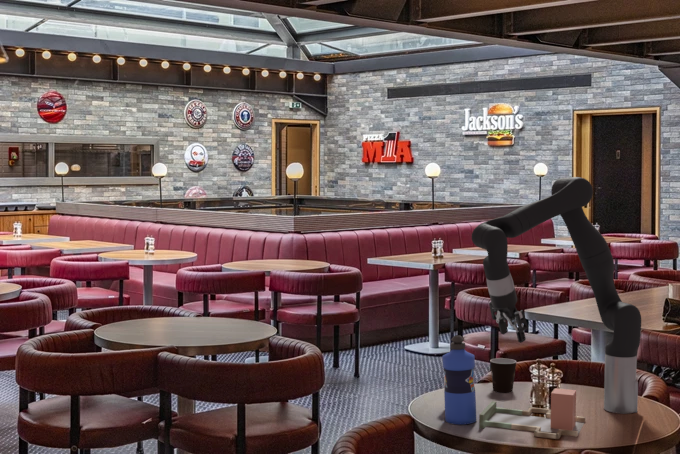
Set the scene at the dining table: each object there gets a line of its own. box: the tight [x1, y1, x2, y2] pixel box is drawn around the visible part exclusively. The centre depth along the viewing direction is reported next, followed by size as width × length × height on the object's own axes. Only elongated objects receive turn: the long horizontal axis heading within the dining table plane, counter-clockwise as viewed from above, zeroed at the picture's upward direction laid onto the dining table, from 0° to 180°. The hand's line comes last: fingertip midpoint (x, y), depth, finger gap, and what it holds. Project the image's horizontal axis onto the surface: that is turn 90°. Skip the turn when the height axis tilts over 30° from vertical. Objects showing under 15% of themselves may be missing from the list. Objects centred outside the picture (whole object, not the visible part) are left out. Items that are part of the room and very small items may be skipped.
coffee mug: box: [489, 357, 517, 394], centre depth 295 cm, size 12×9×10 cm
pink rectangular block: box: [550, 387, 577, 430], centre depth 249 cm, size 6×6×10 cm
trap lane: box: [478, 400, 586, 440], centre depth 253 cm, size 27×25×4 cm
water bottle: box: [441, 334, 477, 425], centre depth 258 cm, size 9×9×25 cm
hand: (513, 337), depth 261 cm, fingers open, 8 cm apart
